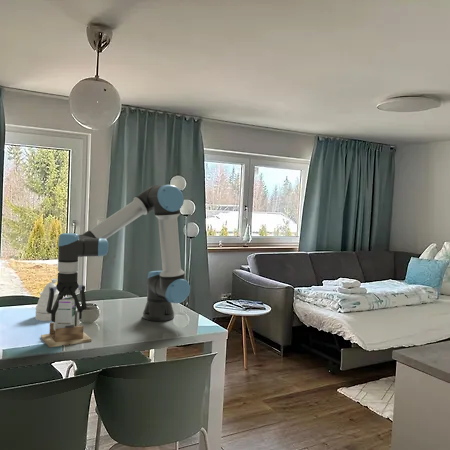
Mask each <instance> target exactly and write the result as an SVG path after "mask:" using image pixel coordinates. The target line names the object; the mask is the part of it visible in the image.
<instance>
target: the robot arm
mask: <svg viewBox="0 0 450 450" xmlns="http://www.w3.org/2000/svg"><path fill="white" fill-rule="evenodd" d="M184 200H185V198H184V194H183V192H182V191H181V189H180V188H179V187H178V186H175V185H173V184H160V185H159V184H158V185H152V186H150V187H148V188H146V189H145V190H143V191H141V193H138V194H137V195H136V196H135V197H133V199H132V201H131V202H130V203H128V204H127V205H125V206H123V207H121V208H120V209H119V210H118V211H116V212H114V213H113V214H112V215H110V216H108V217H107V218H105V219H104V220H102V221H101V222H99V223H98V224H96V225H95V226H93V227H92V228H90V229H88V230H87V231H85V232H83V233H82V234H79V233H74V232H70V233H69V232H67V233H65V232H64V233H60V234H59V235H58V244H57V247H58V248H57V249H58V250H57V253H58V254H57V255H58V256H57V272H58V273H57V282H56V283H57V284H55V285H56V287H49V292H50V293H49V299H48V304H47V309H46V311H47V312H48V313H51V321H50V322H51V323H53V322H54V330H55V329H57V319H58V314H57V313H56V311H57V309H58V307H59V300H61V299H62V298H63V297H68V296H70V297H73V298H74V300H75V304H76V309H77V310H76V326H80V320H81V319H82V313H83V311H84V310H87V307H88V306H87V302H86V301H87V300H86V294H85V291H86V285H84V284H79V283H78V279H79V278H78V277H79V276H78V271H79V268H78V267H79V258H81V257H98V258H100V257H104V256H107V254H108V252H109V248H110V247H109V246H110V245H109V241H108V240H107V239H109V238H110V237H111V236H113V235H114V234H116V233H117V232H119V231H120V230H122V229H123V228H125V227H126V226H128V225H129V224H131V223H132V222H134V221H136V220H137V219H138V218H140V217H141V216H143V215H144V216H147V215H148V214H149V213H151V212H154V217H156V219H157V221H158V233H159V241H160V254H161V255H160V256H161V268H162V270H152V271H148V274H147V289H146V290H147V291H146V293H147V294H146V303H145V306H144V309H143V313H142V319H144V320H147V321H153V322H165V321H170V320H173V319H174V318H175V312H174V308H173V305H172V304H181V303H184V301H185V300H186V299H187V298H188V297H189V295H190V292H191V286H190V283H189V281H188V280H187V279H186V273H185V271H184V270H183V269H182V265H181V264H182V263H181V251H180V238H179V237H180V236H179V234H180V233H179V224H178V217H179V216H180V215H181V208H182V206H184ZM56 289H57V290H58V291H59V294H58V297H57V299H56V301H55V304H54V306H53V308H52V303H53V298H54V293H55V292H56ZM77 290H79V295H80V300H79V299H78V297H77V293H76V291H77ZM57 300H58V301H57ZM79 301H80V302H79ZM80 303H81V304H80ZM51 309H52V310H51Z"/></svg>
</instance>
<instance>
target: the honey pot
mask: <svg viewBox="0 0 450 450" xmlns="http://www.w3.org/2000/svg"><path fill="white" fill-rule="evenodd" d="M57 281H58V278H51V282H48V283H47V284H46V285H45V287H44V288H43V290H42V291H40V292H39V299H38V301H37V305H36V307H35V319H36V321H40V320H41V321H42V322H52V321H51V313H48V312H47V311H46V309H47V304H48V299H49V293H50V292H49V287H56V285H57V284H56V283H57ZM58 294H59V291H58V290H57V289H56V292H55V293H54V298H53V303H52V308H53V306H54V304H55V301H56V299H57V297H58ZM51 310H52V309H51ZM56 313H57V311H56Z"/></svg>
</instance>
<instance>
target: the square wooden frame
mask: <svg viewBox="0 0 450 450" xmlns="http://www.w3.org/2000/svg"><path fill="white" fill-rule="evenodd" d="M40 337H41V339H42V340H43V342H44V343H45V345H46V346H47V347H48V348H55V347H62V345H63V346H68V345H69V344H70V345H76V344H83V343H88V342H92V341H93V340H92V338H91V337H90V336H89V335H88V334H87V333H86V332H84V325H79V326H74V325H70V326H65V328H58V329H55V330H54V322H49V333H44V334H41V335H40Z"/></svg>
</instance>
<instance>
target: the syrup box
mask: <svg viewBox="0 0 450 450" xmlns="http://www.w3.org/2000/svg"><path fill="white" fill-rule="evenodd" d="M57 301H58V300H57ZM76 309H77V307H76V304H75V300H74V298H73V297H72V296H64V297H63V298H62V299H61V300H59V307H58V309H57V314H58V319H57V329H58V328H65V326H70V325H74V326H76V311H77V310H76Z"/></svg>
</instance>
